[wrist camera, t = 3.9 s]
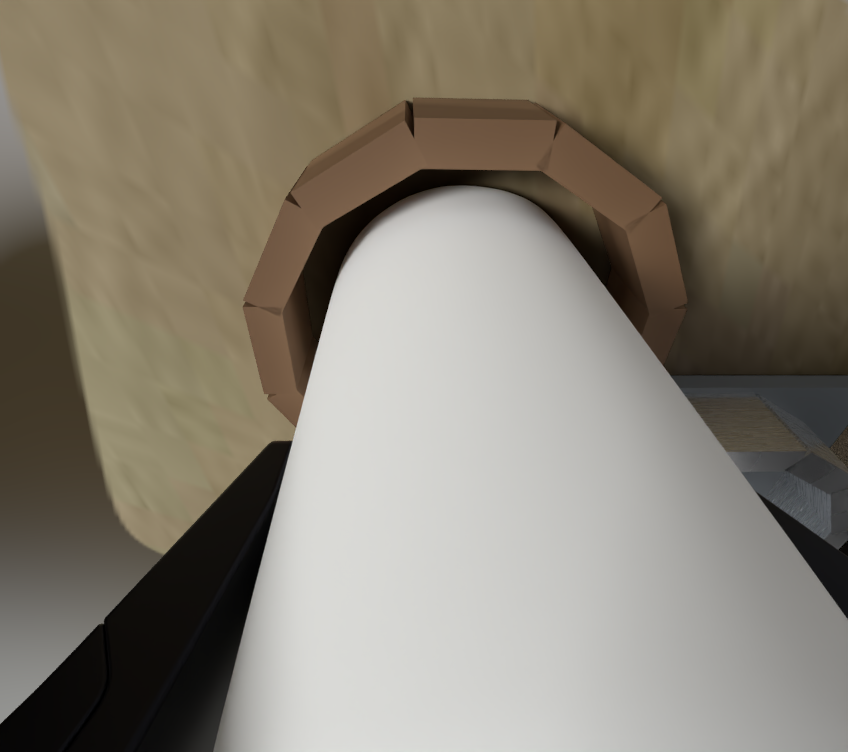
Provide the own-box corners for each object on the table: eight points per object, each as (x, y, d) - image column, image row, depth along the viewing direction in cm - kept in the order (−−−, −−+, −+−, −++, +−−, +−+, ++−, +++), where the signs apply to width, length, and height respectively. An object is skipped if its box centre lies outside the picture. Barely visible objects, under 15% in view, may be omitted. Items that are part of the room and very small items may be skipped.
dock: (862, 375, 15) (950, 445, 12) (728, 552, 21) (769, 621, 18) (548, 375, 14) (576, 447, 12) (506, 555, 20) (519, 627, 18)
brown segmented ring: (695, 103, 10) (765, 124, 8) (588, 429, 16) (613, 486, 14) (236, 94, 10) (194, 113, 8) (302, 430, 15) (287, 488, 14)
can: (623, 222, 11) (1707, 1246, 2) (516, 411, 15) (703, 1073, 6) (364, 139, 10) (-269, 2065, 1) (317, 369, 14) (127, 1138, 4)
